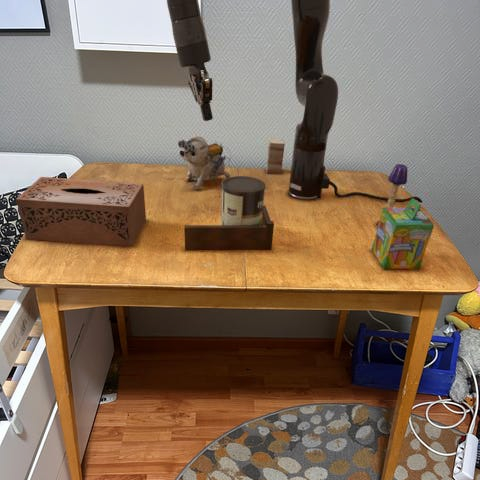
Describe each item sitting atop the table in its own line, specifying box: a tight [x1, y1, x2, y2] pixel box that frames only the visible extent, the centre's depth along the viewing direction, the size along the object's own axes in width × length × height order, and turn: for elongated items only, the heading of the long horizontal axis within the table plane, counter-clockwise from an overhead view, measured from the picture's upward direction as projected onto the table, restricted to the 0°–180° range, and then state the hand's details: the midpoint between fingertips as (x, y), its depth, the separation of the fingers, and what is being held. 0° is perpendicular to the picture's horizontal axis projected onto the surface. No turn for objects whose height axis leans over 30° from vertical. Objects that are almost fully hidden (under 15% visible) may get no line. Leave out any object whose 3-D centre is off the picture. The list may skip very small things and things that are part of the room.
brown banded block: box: [265, 138, 286, 175], centre depth 154 cm, size 5×4×10 cm
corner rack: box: [183, 205, 275, 252], centre depth 115 cm, size 21×13×7 cm, turn 96°
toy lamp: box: [376, 163, 408, 228], centre depth 122 cm, size 5×5×17 cm
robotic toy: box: [177, 135, 232, 190], centre depth 141 cm, size 13×17×15 cm
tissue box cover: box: [15, 176, 147, 247], centre depth 114 cm, size 26×14×10 cm, turn 87°
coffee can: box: [220, 175, 267, 225], centre depth 113 cm, size 10×10×14 cm
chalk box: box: [371, 198, 435, 270], centre depth 107 cm, size 9×9×15 cm
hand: (208, 120), depth 118 cm, fingers closed
